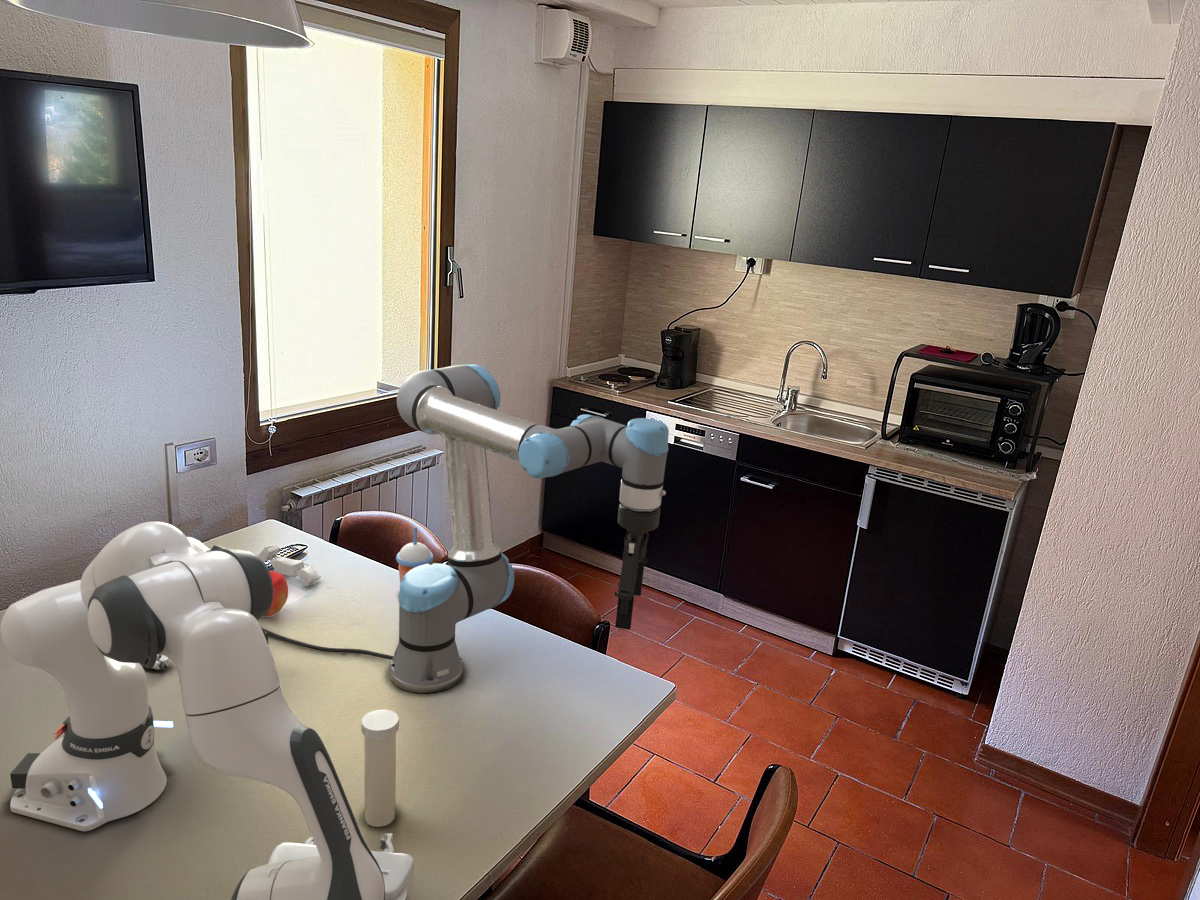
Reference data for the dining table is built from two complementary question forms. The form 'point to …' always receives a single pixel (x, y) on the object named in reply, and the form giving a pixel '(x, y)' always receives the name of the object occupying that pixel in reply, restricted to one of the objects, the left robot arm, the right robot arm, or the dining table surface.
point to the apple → (278, 593)
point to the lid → (380, 724)
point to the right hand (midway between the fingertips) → (628, 610)
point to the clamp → (289, 566)
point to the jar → (380, 780)
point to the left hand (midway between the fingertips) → (357, 833)
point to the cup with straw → (413, 556)
